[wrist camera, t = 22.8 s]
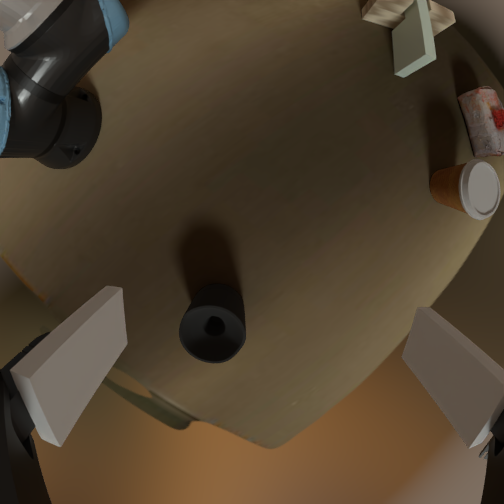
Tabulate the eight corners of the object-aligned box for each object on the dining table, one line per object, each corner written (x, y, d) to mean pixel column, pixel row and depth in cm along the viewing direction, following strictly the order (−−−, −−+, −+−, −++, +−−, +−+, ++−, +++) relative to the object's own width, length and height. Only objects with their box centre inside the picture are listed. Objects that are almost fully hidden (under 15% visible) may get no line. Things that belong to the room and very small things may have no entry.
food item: (451, 92, 40) (482, 82, 30) (474, 91, 39) (504, 83, 30) (470, 159, 43) (503, 158, 33) (492, 153, 42) (523, 153, 33)
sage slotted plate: (403, 77, 39) (436, 58, 29) (394, 74, 39) (425, 54, 29) (393, -13, 34) (415, -38, 23) (385, -16, 34) (405, -42, 23)
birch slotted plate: (362, 19, 37) (384, -10, 26) (361, 9, 36) (382, -20, 25) (425, 41, 37) (455, 21, 26) (424, 32, 36) (453, 11, 26)
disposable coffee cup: (442, 151, 43) (485, 146, 31) (465, 191, 44) (507, 196, 33) (414, 181, 44) (457, 183, 32) (439, 222, 45) (481, 233, 34)
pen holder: (182, 290, 48) (168, 315, 38) (235, 273, 47) (232, 296, 38) (203, 336, 50) (194, 369, 40) (253, 322, 50) (254, 354, 40)
